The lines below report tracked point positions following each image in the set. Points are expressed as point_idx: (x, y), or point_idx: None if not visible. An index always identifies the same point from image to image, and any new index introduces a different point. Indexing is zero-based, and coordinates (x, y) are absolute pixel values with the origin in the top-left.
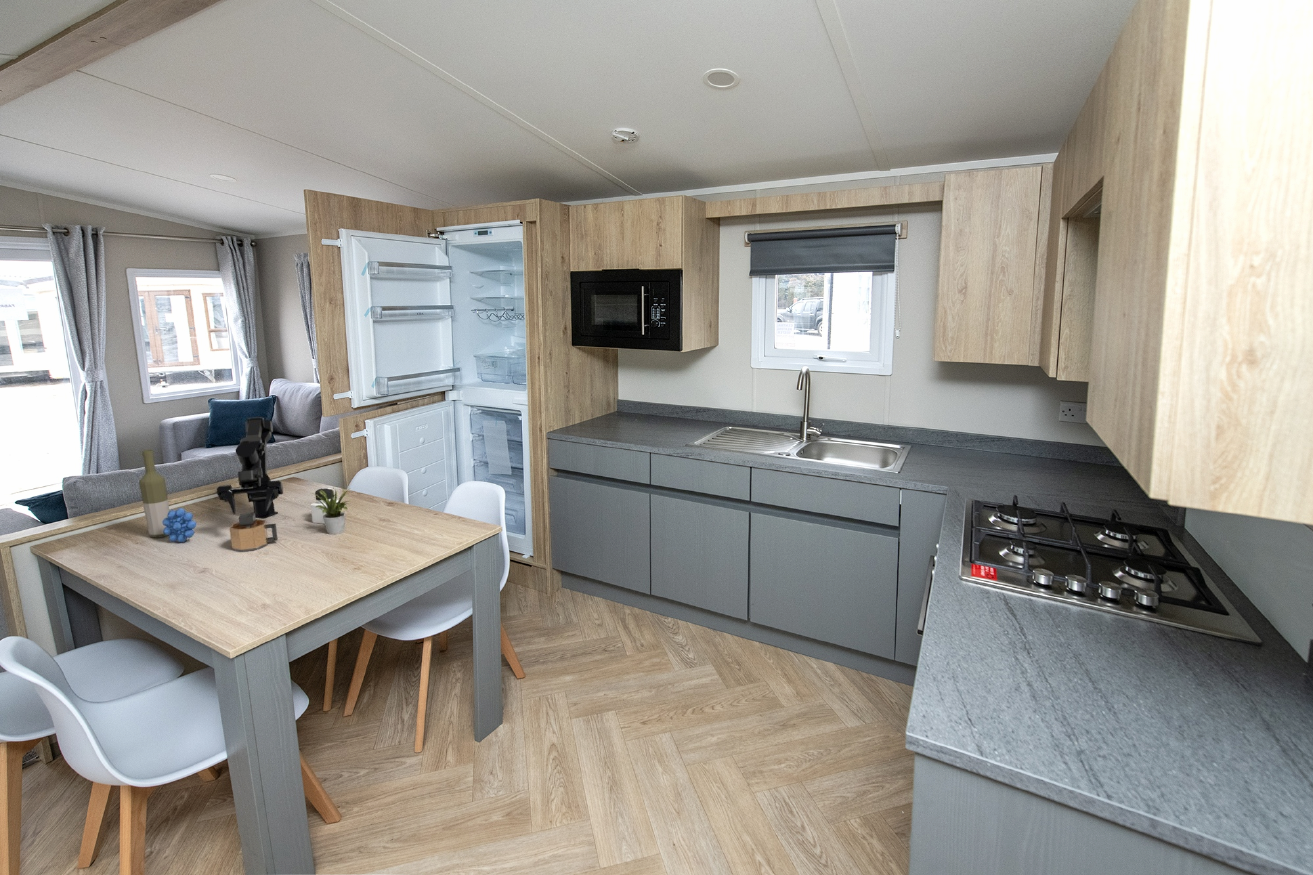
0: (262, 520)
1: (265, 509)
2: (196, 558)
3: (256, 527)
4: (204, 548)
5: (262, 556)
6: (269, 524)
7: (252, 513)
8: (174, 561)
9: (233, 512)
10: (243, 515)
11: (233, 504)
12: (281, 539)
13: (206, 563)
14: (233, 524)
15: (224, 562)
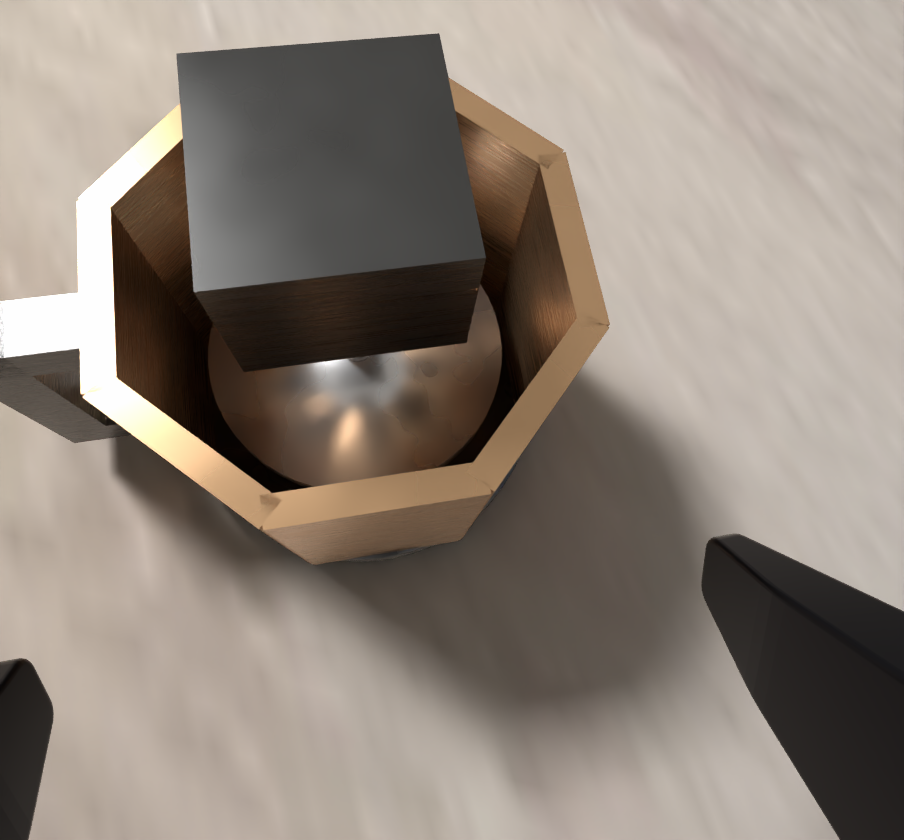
0: (139, 412)
1: (15, 661)
2: (751, 198)
3: (176, 114)
4: (822, 447)
5: (179, 96)
6: (38, 341)
7: (230, 242)
8: (900, 177)
9: (740, 541)
10: (389, 153)
11: (902, 675)
12: (65, 544)
13: (607, 69)
14: (579, 314)
15: (468, 52)
